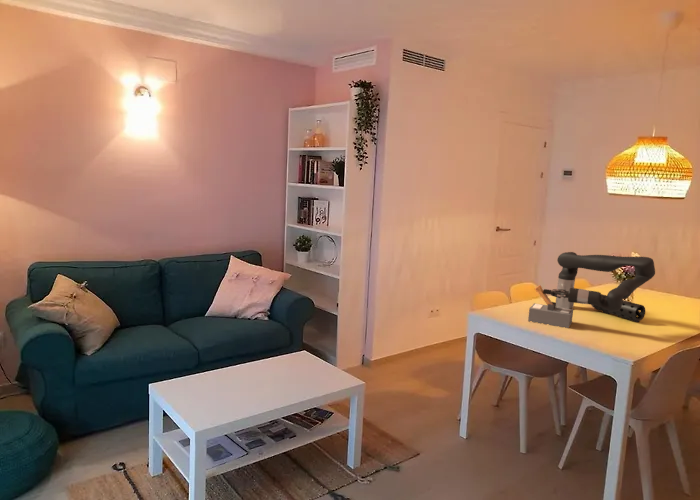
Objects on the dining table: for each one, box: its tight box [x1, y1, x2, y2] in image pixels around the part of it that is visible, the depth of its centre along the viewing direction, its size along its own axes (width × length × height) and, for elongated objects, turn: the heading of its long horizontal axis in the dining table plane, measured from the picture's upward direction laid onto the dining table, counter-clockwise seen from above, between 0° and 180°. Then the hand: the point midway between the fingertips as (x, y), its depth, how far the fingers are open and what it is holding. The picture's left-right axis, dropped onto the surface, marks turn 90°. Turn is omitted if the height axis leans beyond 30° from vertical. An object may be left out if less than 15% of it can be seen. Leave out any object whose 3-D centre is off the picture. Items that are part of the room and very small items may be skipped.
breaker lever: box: [534, 284, 554, 305], centre depth 276 cm, size 2×5×13 cm
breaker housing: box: [527, 301, 574, 329], centre depth 275 cm, size 20×14×10 cm
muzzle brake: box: [591, 293, 646, 323], centre depth 295 cm, size 10×28×10 cm, turn 27°
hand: (543, 291), depth 276 cm, fingers closed
